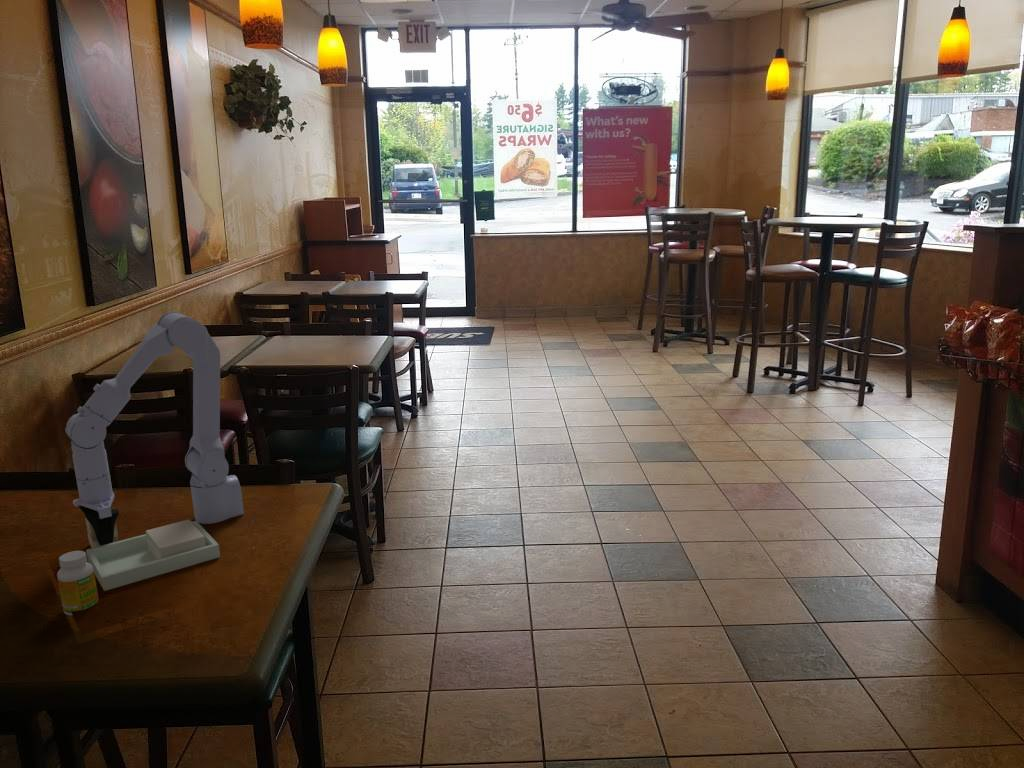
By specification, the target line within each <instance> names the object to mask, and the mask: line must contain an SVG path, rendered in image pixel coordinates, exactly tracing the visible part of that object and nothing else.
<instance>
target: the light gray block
mask: <svg viewBox="0 0 1024 768" xmlns="http://www.w3.org/2000/svg"><path fill="white" fill-rule="evenodd" d="M192 522H193V521H191V520H190V519H185V520H182V521H178V522H174V523H173V522H172V523H170V524H166V525H162V526H158V527H154V528H151V529H145V534H146V536H147V542H148V549H149V551H150V552H151V554H152V555H153V556H154V558H155V559H156V560H159V559H163V558H166V557H170V556H173V555H177V554H180V553H184V552H187V551H191V550H195V549H198V548H202V547H205V546H206V543H205V536H204V535H203V534H202V533H201V532H200V531H199V530H198V529H197V528H196V527H195V525H194V524H193V523H192Z"/></svg>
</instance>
